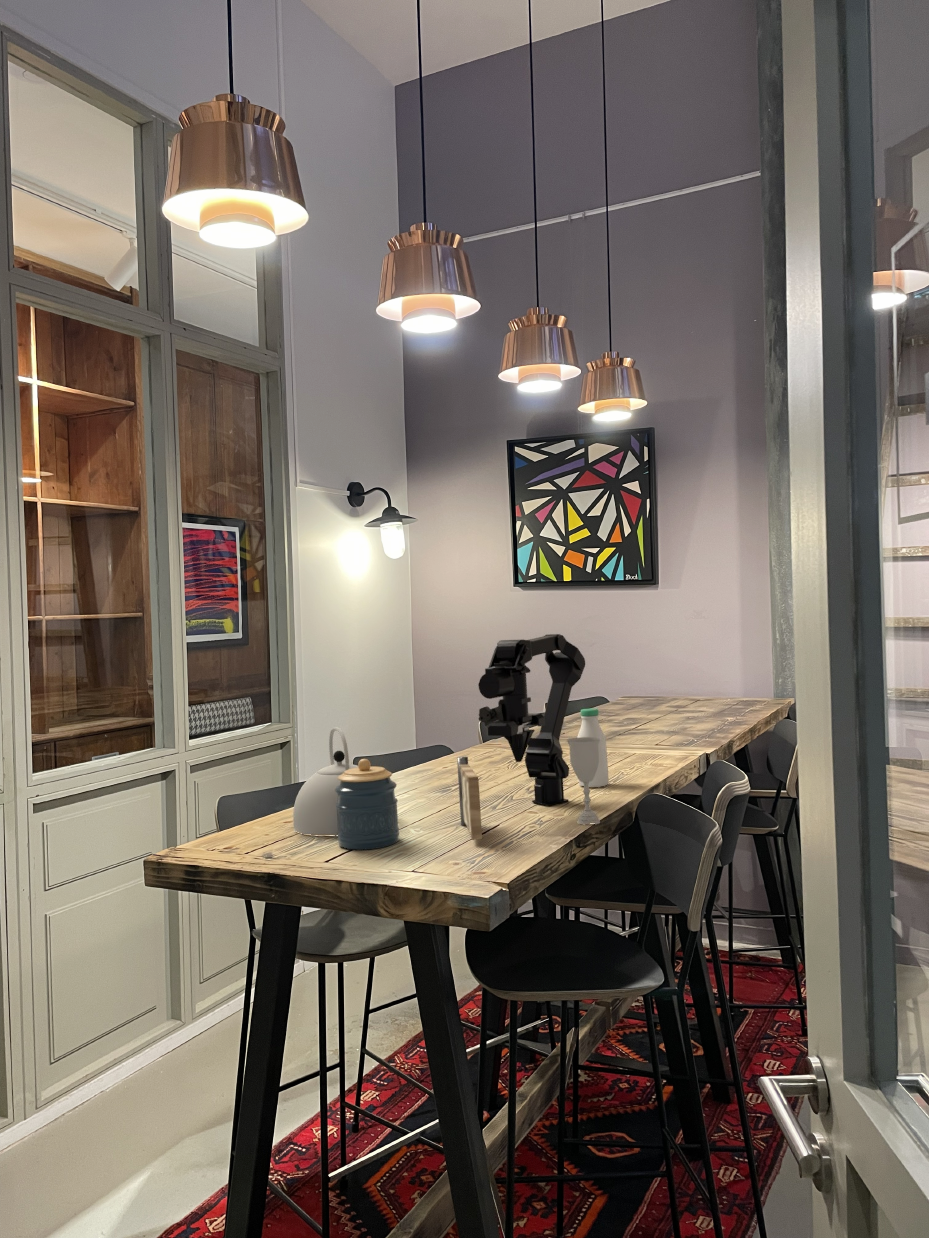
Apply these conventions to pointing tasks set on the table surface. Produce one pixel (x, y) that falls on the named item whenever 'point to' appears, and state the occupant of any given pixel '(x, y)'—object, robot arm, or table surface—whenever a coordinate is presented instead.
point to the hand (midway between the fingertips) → (518, 761)
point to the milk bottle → (593, 729)
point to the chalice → (585, 770)
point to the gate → (471, 801)
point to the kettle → (321, 795)
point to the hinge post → (461, 762)
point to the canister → (366, 808)
